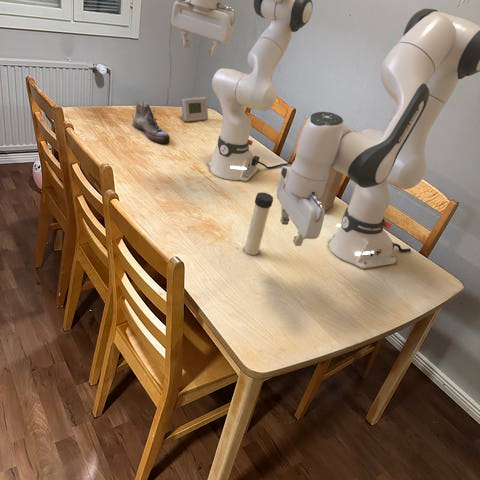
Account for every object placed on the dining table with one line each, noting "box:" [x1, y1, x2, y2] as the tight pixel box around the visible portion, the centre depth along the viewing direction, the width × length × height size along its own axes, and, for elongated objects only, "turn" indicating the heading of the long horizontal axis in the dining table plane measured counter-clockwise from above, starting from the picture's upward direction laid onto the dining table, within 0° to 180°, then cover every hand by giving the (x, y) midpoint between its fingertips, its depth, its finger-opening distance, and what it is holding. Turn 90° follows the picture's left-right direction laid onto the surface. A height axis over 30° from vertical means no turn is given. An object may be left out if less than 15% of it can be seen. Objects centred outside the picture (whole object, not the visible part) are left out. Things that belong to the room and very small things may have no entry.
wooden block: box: [318, 168, 344, 213], centre depth 165 cm, size 10×10×20 cm
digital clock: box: [181, 96, 209, 123], centre depth 223 cm, size 16×9×11 cm, turn 123°
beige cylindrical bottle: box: [244, 203, 271, 256], centre depth 130 cm, size 4×4×18 cm
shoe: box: [132, 101, 171, 145], centre depth 195 cm, size 25×11×12 cm, turn 30°
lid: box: [254, 192, 274, 209], centre depth 125 cm, size 5×5×2 cm
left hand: (198, 51), depth 131 cm, fingers open, 8 cm apart
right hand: (290, 233), depth 109 cm, fingers open, 8 cm apart
